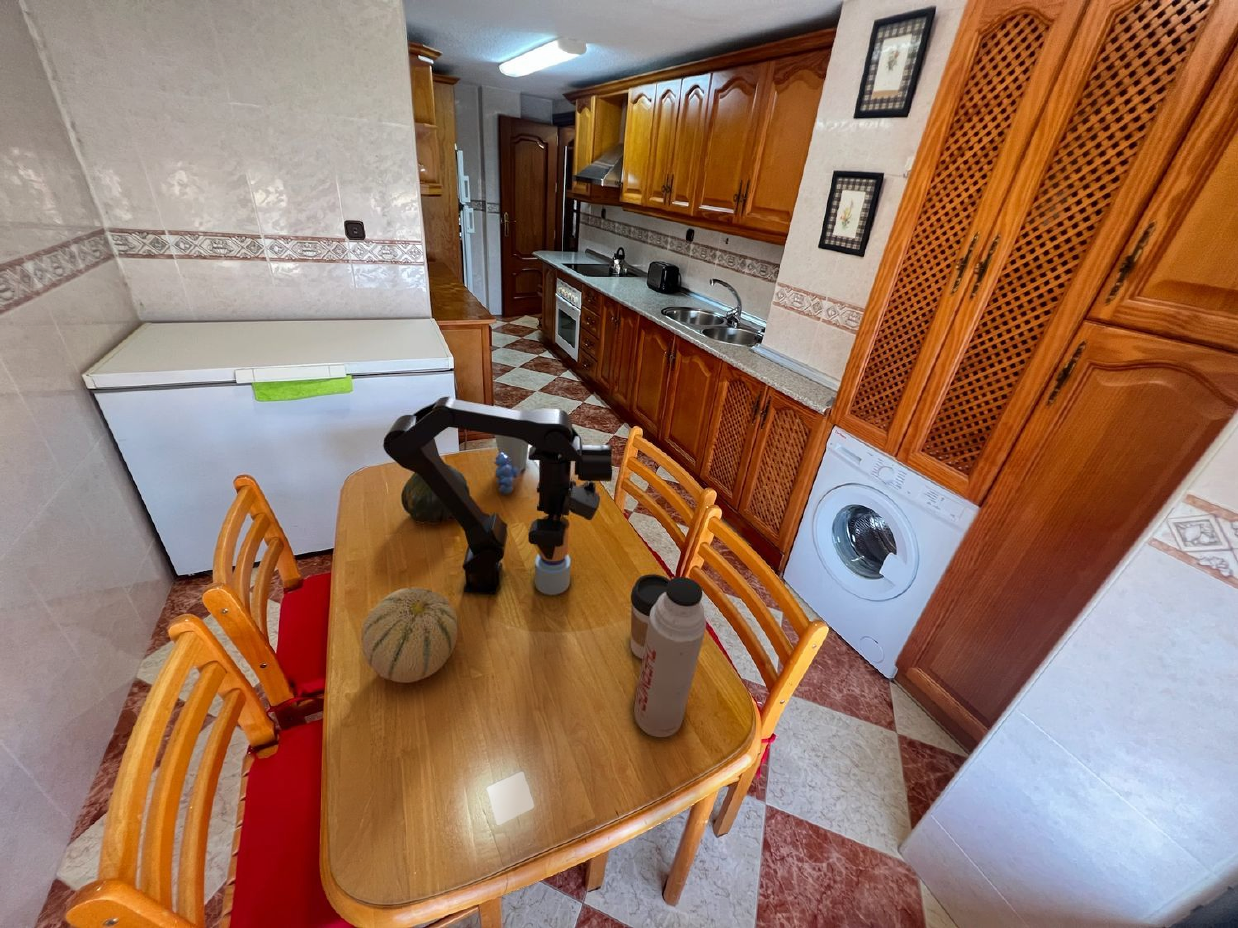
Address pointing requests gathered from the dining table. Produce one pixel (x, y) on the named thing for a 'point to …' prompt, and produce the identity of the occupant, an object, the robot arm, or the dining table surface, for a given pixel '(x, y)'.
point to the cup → (562, 550)
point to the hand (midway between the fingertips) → (553, 543)
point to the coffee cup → (644, 608)
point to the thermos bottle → (670, 657)
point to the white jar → (552, 575)
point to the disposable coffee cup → (513, 450)
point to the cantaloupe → (409, 634)
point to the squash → (426, 500)
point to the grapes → (505, 473)
